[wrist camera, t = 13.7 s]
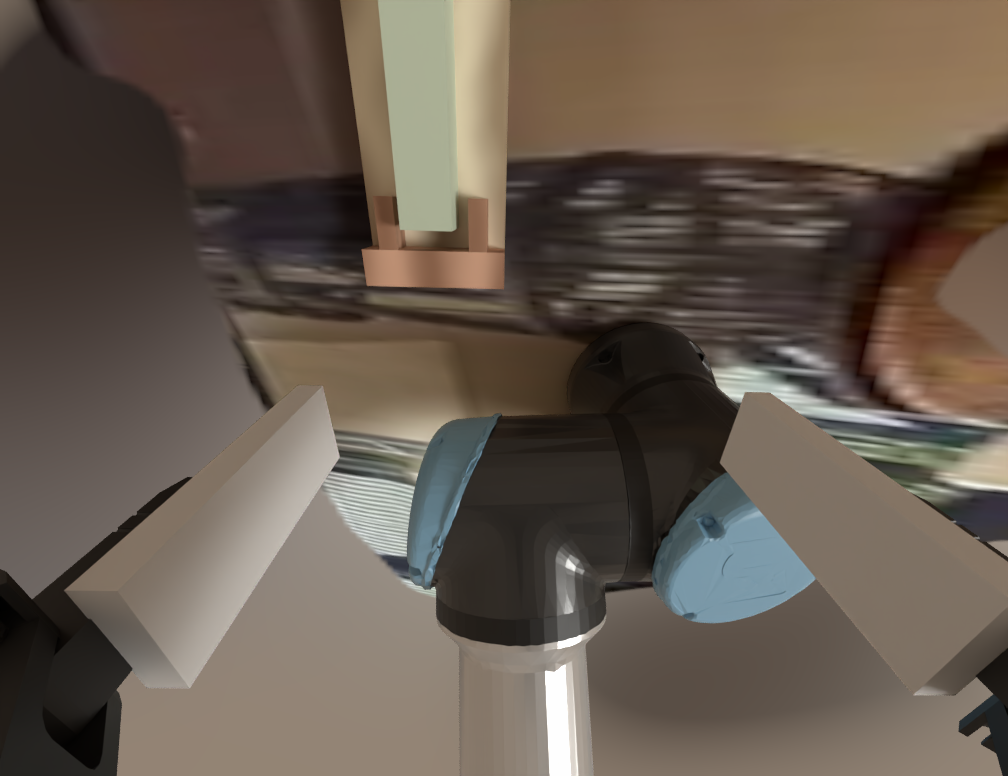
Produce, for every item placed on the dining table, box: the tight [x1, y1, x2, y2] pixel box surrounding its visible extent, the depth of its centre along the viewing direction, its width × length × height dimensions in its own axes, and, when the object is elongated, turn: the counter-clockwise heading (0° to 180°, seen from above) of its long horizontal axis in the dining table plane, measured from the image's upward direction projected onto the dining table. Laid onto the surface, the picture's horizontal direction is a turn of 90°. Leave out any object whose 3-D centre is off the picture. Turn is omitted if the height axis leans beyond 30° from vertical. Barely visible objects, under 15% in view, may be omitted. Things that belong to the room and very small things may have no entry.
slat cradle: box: [340, 0, 510, 289], centre depth 26 cm, size 12×33×4 cm, turn 179°
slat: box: [378, 0, 459, 232], centre depth 24 cm, size 4×24×5 cm, turn 178°
